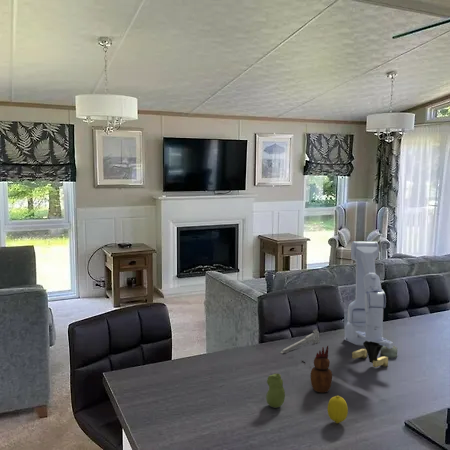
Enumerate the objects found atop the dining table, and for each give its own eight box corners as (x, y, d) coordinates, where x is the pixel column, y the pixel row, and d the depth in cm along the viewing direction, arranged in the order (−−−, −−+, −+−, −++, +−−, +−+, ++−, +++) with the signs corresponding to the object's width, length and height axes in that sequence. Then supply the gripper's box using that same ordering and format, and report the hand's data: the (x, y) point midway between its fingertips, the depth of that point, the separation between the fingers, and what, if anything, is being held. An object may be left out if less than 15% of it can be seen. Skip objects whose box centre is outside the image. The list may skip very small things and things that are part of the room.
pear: (274, 413, 130) (275, 379, 129) (262, 405, 134) (262, 373, 133) (288, 407, 134) (288, 374, 133) (275, 400, 138) (275, 368, 137)
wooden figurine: (332, 388, 146) (333, 343, 144) (330, 396, 140) (331, 350, 139) (311, 385, 148) (312, 341, 147) (309, 392, 143) (310, 347, 141)
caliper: (317, 343, 187) (317, 328, 186) (319, 343, 186) (319, 329, 185) (280, 353, 175) (280, 338, 175) (281, 354, 174) (282, 338, 174)
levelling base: (348, 361, 167) (348, 349, 167) (380, 349, 179) (381, 338, 179) (380, 374, 156) (381, 362, 156) (412, 361, 168) (413, 349, 167)
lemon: (324, 418, 127) (325, 391, 127) (343, 417, 128) (344, 390, 127) (330, 429, 122) (331, 401, 121) (350, 428, 122) (351, 400, 122)
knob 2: (371, 368, 158) (371, 359, 158) (383, 363, 162) (383, 355, 162) (376, 370, 156) (377, 361, 156) (389, 365, 160) (389, 357, 160)
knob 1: (350, 360, 165) (350, 351, 165) (362, 355, 169) (363, 347, 169) (355, 362, 163) (356, 353, 163) (368, 357, 167) (368, 349, 167)
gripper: (350, 321, 162) (349, 357, 163) (385, 332, 150) (383, 371, 151) (362, 318, 166) (361, 353, 167) (397, 328, 154) (395, 366, 156)
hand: (372, 361), depth 160 cm, fingers closed
